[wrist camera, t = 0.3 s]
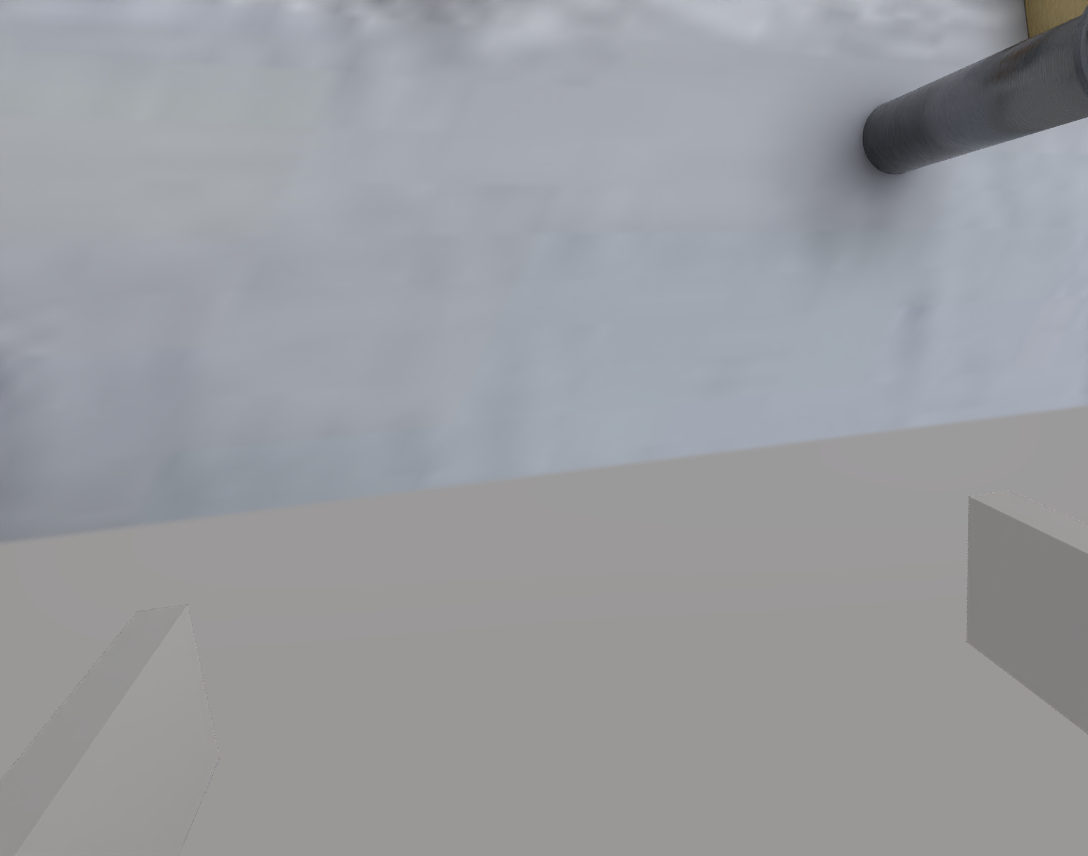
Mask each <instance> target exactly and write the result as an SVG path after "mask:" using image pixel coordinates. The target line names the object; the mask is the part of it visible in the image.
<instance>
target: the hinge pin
mask: <svg viewBox="0 0 1088 856" xmlns="http://www.w3.org/2000/svg"><path fill="white" fill-rule="evenodd" d="M1086 117H1088V6H1087V7H1086V8H1085V10H1084V12H1083V14H1082V15H1080V16H1078V17H1076V18H1074V19H1072V20H1069V21H1067V22H1065V23H1063V24H1060V25H1058V26H1056V27H1054V28H1052V29H1049V30H1047V31H1045V32H1043V33H1040V34H1038V35H1036V36H1034V37H1032V38H1029V39H1027V40H1025V41H1023V42H1020V43H1018V44H1016V45H1014V46H1012V47H1009V48H1007V49H1005V50H1003V51H1000V52H998V53H996V54H994V55H992V56H989V57H987V58H985V59H983V60H980V61H978V62H976V63H974V64H972V65H969V66H967V67H965V68H963V69H960V70H958V71H956V72H954V73H951V74H949V75H947V76H945V77H943V78H940V79H938V80H936V81H934V82H931V83H929V84H927V85H925V86H923V87H920V88H918V89H916V90H914V91H911V92H909V93H907V94H905V95H903V96H900V97H898V98H896V99H894V100H891V101H889V102H887V103H885V104H883V105H881V106H879V107H878V108H876V109H875V110H874V111H873V112H872V113H871V115H870V116H869V118H868V120H867V122H866V124H865V128H864V132H863V144H864V149H865V152H866V154H867V157H868V158H869V160H870V161H871V163H872V164H873V165H874V166H875V167H876V168H878V169H879V170H881V171H883V172H886V173H889V174H900V173H904V172H907V171H910V170H914V169H917V168H920V167H924V166H927V165H930V164H934V163H937V162H940V161H943V160H947V159H950V158H953V157H957V156H960V155H963V154H967V153H970V152H973V151H977V150H980V149H983V148H987V147H990V146H993V145H996V144H1000V143H1003V142H1006V141H1010V140H1013V139H1016V138H1020V137H1023V136H1026V135H1030V134H1033V133H1036V132H1040V131H1043V130H1046V129H1050V128H1053V127H1056V126H1059V125H1063V124H1066V123H1069V122H1073V121H1076V120H1079V119H1083V118H1086Z"/></svg>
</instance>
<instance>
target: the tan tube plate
mask: <svg viewBox="0 0 1088 856" xmlns="http://www.w3.org/2000/svg"><path fill="white" fill-rule="evenodd" d="M1087 6H1088V0H1025V8H1026V16H1027V25H1028V33H1029V38H1032V37H1034V36H1036V35H1038V34H1040V33H1043V32H1045V31H1047V30H1049V29H1052V28H1054V27H1056V26H1058V25H1060V24H1063V23H1065V22H1067V21H1069V20H1072V19H1074V18H1076V17H1078V16H1080V15H1082V14H1083V12H1084V10H1085V8H1086V7H1087Z"/></svg>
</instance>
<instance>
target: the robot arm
mask: <svg viewBox="0 0 1088 856" xmlns="http://www.w3.org/2000/svg"><path fill="white" fill-rule="evenodd" d="M968 518H969V519H968V521H969V522H968V581H967V582H968V584H967V643H969V644H970V645H971V646H973V647H974V648H975V649H977V650H978V651H979V652H981V653H982V654H983V655H984V656H986V657H987V658H988V659H990V660H991V661H993V662H994V663H995V664H996V665H998V666H999V667H1000V668H1002V669H1003V670H1004V671H1006V672H1007V673H1008V674H1009V675H1011V676H1012V677H1013V678H1015V679H1016V680H1018V681H1019V682H1020V683H1021V684H1023V685H1024V686H1025V687H1026V688H1028V689H1029V690H1030V691H1032V692H1033V693H1034V694H1036V695H1037V696H1038V697H1040V698H1041V699H1042V700H1044V701H1045V702H1046V703H1048V704H1049V705H1050V706H1051V707H1053V708H1054V709H1055V710H1057V711H1058V712H1060V713H1061V714H1062V715H1063V716H1065V717H1066V718H1067V719H1069V720H1070V721H1071V722H1073V723H1074V724H1075V725H1076V726H1078V727H1079V728H1080V729H1082V730H1083V731H1084V732H1086V733H1087V734H1088V524H1086V523H1083V522H1081V521H1079V520H1076V519H1074V518H1072V517H1070V516H1067V515H1065V514H1063V513H1060V512H1058V511H1056V510H1054V509H1051V508H1049V507H1047V506H1045V505H1042V504H1040V503H1038V502H1035V501H1033V500H1030V499H1029V498H1026V497H1024V496H1022V495H1019V494H1017V493H1015V492H1012V491H1003V492H996V493H989V494H982V495H974V496H969V514H968ZM219 759H220V756H219V752H218V747H217V742H216V737H215V732H214V728H213V723H212V718H211V713H210V709H209V704H208V699H207V694H206V689H205V684H204V680H203V675H202V670H201V666H200V661H199V656H198V651H197V646H196V641H195V637H194V632H193V628H192V622H191V618H190V613H189V608H188V604H186V605H179V606H172V607H165V608H158V609H150V610H143V611H137V613H136V614H135V615H134V616H133V618H132V619H131V620H130V621H129V623H128V624H127V625H126V626H125V627H124V629H123V630H122V631H121V632H120V634H119V635H118V636H117V637H116V639H115V640H114V641H113V642H112V643H111V645H110V646H109V647H108V648H107V650H106V651H105V652H104V653H103V655H102V656H101V657H100V658H99V660H98V661H97V662H96V663H95V665H94V666H93V667H92V668H91V669H90V671H89V672H88V673H87V675H86V676H85V677H84V678H83V679H82V680H81V682H80V683H79V684H78V685H77V687H76V688H75V689H74V691H73V692H72V693H71V694H70V695H69V697H68V698H67V699H66V700H65V702H64V703H63V704H62V705H61V706H60V708H59V709H58V710H57V712H56V713H55V714H54V715H53V716H52V717H51V719H50V720H49V721H48V722H47V724H46V725H45V726H44V727H43V729H42V730H41V731H40V732H39V733H38V735H37V736H36V737H35V739H34V740H33V741H32V742H31V743H30V745H29V746H28V747H27V748H26V750H25V751H24V752H23V753H22V754H21V756H20V757H19V758H18V759H17V761H16V762H15V763H14V764H13V766H12V767H11V768H10V769H9V770H8V772H7V773H6V774H5V775H4V777H3V778H2V779H1V780H0V856H179V854H180V851H181V849H182V847H183V844H184V842H185V839H186V837H187V834H188V832H189V830H190V828H191V825H192V823H193V821H194V818H195V816H196V813H197V811H198V809H199V806H200V804H201V802H202V799H203V797H204V794H205V792H206V789H207V787H208V785H209V783H210V780H211V778H212V776H213V773H214V771H215V768H216V766H217V764H218V761H219Z"/></svg>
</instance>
